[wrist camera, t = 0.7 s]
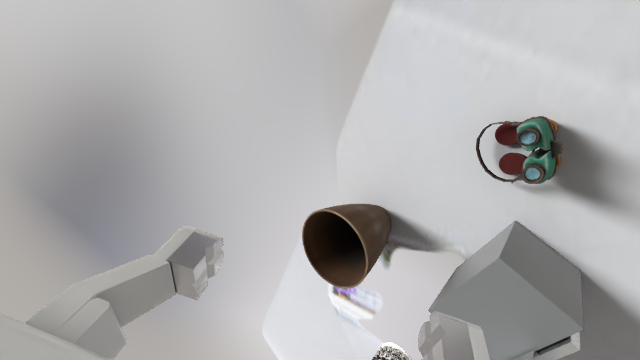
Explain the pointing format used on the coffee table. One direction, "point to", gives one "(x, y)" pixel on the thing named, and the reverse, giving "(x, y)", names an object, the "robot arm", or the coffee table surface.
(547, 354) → the side door
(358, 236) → the plant pot
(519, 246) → the block
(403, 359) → the black white cylinder
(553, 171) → the binoculars
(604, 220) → the coffee table surface
